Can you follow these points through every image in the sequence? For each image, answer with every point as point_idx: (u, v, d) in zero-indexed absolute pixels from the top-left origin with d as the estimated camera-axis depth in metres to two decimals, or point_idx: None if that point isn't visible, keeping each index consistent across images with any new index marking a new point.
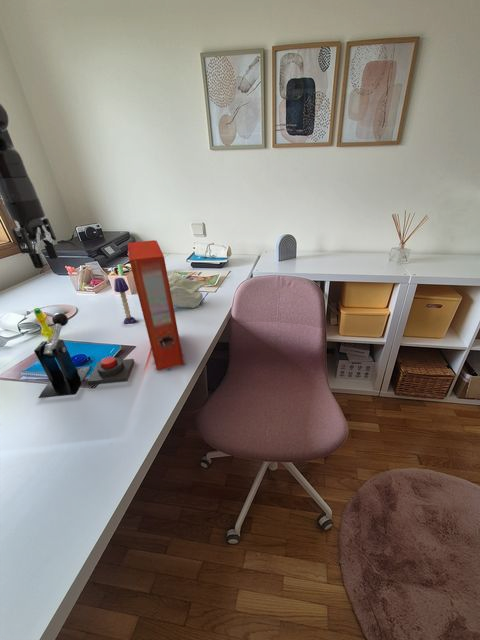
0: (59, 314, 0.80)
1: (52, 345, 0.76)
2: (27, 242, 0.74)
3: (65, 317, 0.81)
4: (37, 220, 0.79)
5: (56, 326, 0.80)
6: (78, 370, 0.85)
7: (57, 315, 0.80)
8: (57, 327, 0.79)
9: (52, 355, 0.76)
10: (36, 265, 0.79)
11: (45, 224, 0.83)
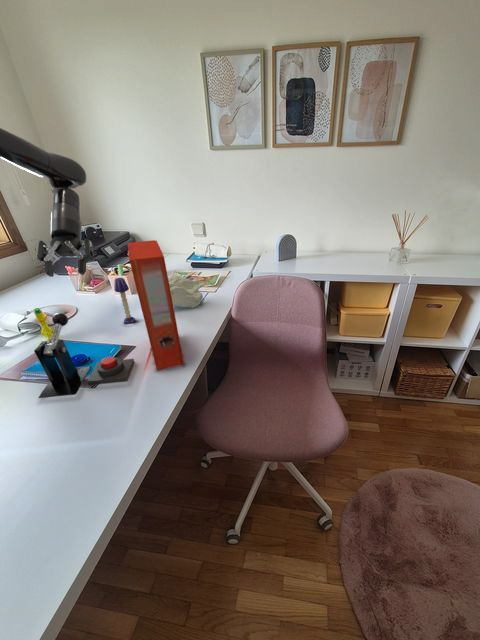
0: (59, 314, 0.80)
1: (52, 345, 0.76)
2: None
3: (65, 317, 0.81)
4: None
5: (56, 326, 0.80)
6: (78, 370, 0.85)
7: (57, 315, 0.80)
8: (57, 327, 0.79)
9: (52, 355, 0.76)
10: (84, 270, 0.87)
11: None
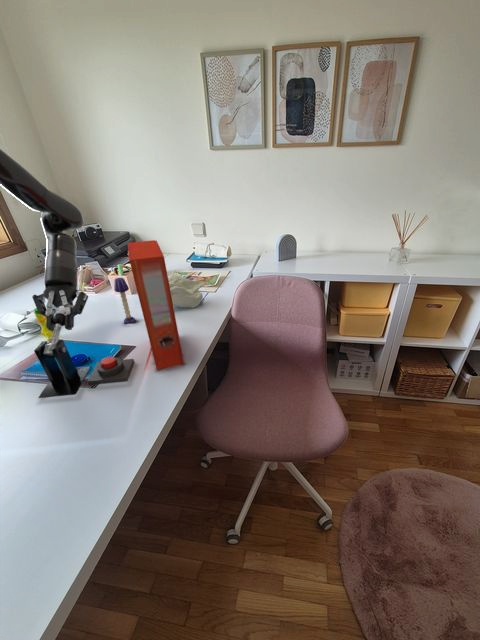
0: (59, 314, 0.80)
1: (52, 345, 0.76)
2: None
3: None
4: None
5: (56, 326, 0.80)
6: (78, 370, 0.85)
7: (57, 315, 0.80)
8: (57, 327, 0.79)
9: (52, 355, 0.76)
10: (71, 325, 0.81)
11: None
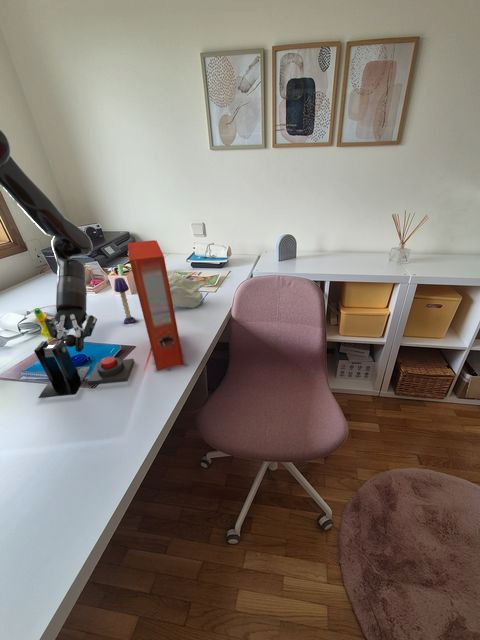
0: None
1: None
2: None
3: None
4: None
5: (65, 341, 0.83)
6: (78, 370, 0.85)
7: None
8: (65, 341, 0.83)
9: (50, 352, 0.75)
10: (81, 347, 0.86)
11: None
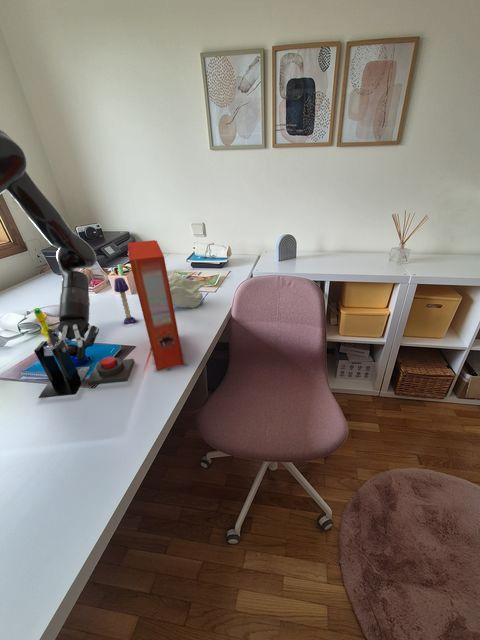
0: None
1: None
2: None
3: (78, 347, 0.86)
4: None
5: None
6: (78, 370, 0.85)
7: (72, 344, 0.86)
8: (67, 348, 0.83)
9: (50, 350, 0.75)
10: (83, 357, 0.86)
11: None
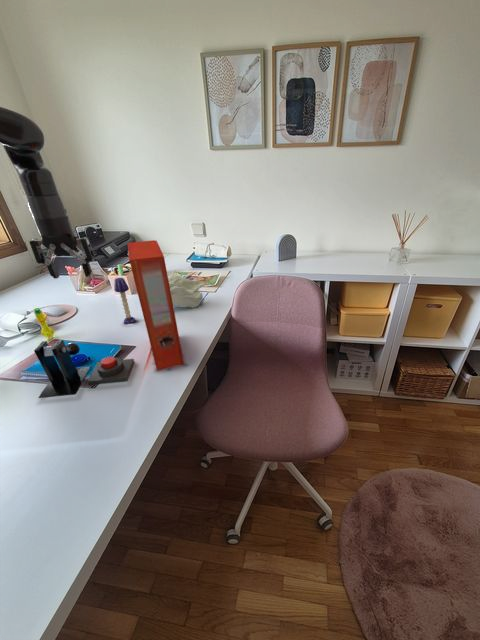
0: (74, 343, 0.87)
1: None
2: None
3: (78, 346, 0.86)
4: None
5: (66, 347, 0.83)
6: (78, 370, 0.85)
7: (72, 343, 0.86)
8: (67, 347, 0.83)
9: (50, 351, 0.75)
10: (90, 272, 0.85)
11: None
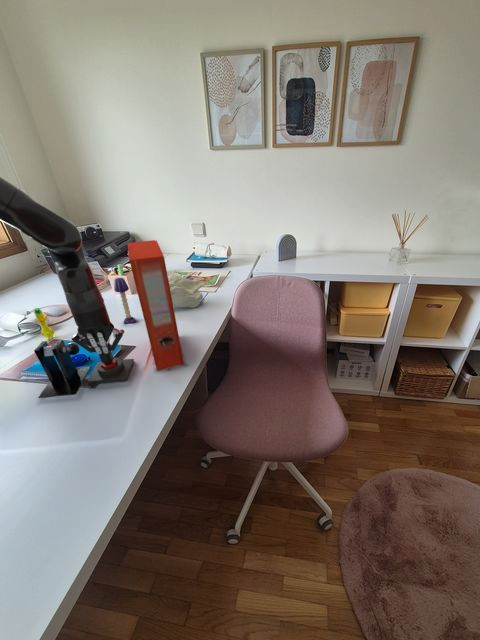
0: (74, 343, 0.87)
1: None
2: None
3: (78, 346, 0.86)
4: None
5: (66, 347, 0.83)
6: (78, 370, 0.85)
7: (72, 343, 0.86)
8: (67, 347, 0.83)
9: (50, 351, 0.75)
10: (112, 359, 0.82)
11: None
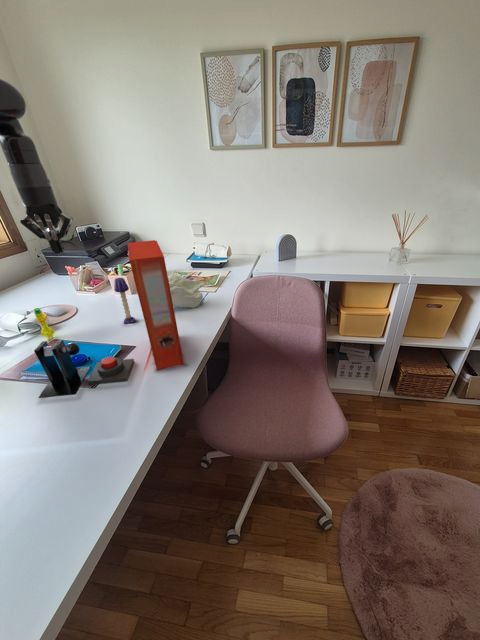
0: (74, 343, 0.87)
1: None
2: None
3: (78, 346, 0.86)
4: None
5: (66, 347, 0.83)
6: (78, 370, 0.85)
7: (72, 343, 0.86)
8: (67, 347, 0.83)
9: (50, 351, 0.75)
10: (63, 249, 0.86)
11: None
